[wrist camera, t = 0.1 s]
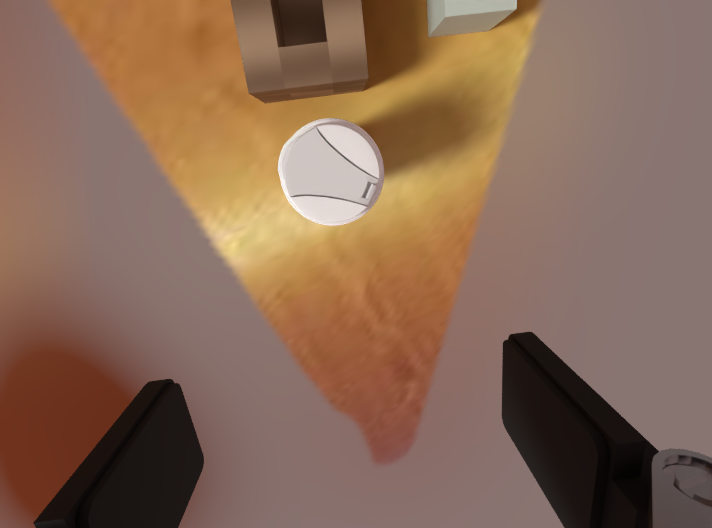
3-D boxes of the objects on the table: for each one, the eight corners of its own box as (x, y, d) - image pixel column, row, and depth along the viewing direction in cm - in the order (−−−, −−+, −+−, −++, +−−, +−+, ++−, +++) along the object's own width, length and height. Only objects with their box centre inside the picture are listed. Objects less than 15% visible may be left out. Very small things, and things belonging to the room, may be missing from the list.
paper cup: (380, 145, 38) (404, 145, 24) (352, 212, 40) (360, 244, 27) (311, 114, 36) (297, 95, 23) (286, 184, 39) (260, 204, 25)
